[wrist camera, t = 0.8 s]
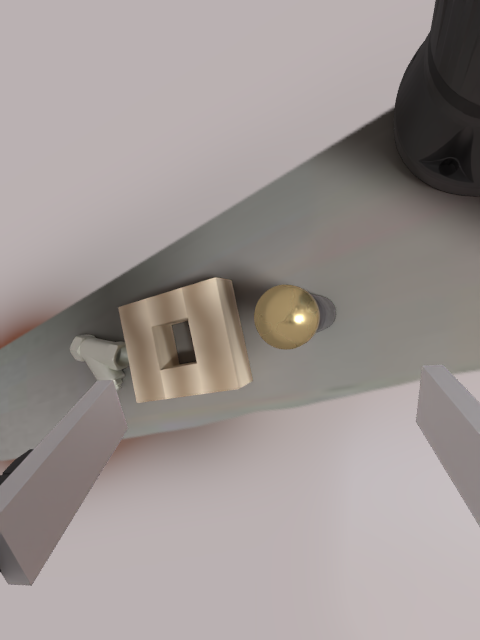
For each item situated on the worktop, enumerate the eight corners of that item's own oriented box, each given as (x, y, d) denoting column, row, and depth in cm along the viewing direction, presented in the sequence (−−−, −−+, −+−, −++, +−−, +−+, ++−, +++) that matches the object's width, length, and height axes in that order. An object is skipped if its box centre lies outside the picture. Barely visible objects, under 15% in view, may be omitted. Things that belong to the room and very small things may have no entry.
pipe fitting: (133, 388, 45) (134, 341, 44) (112, 397, 41) (112, 347, 40) (92, 376, 48) (92, 333, 47) (69, 384, 45) (68, 337, 44)
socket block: (231, 280, 37) (215, 277, 34) (252, 380, 37) (238, 388, 33) (140, 307, 43) (118, 307, 39) (157, 394, 42) (136, 402, 39)
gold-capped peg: (334, 287, 33) (309, 277, 21) (344, 329, 32) (323, 342, 21) (293, 297, 34) (248, 293, 23) (302, 337, 34) (261, 354, 22)
